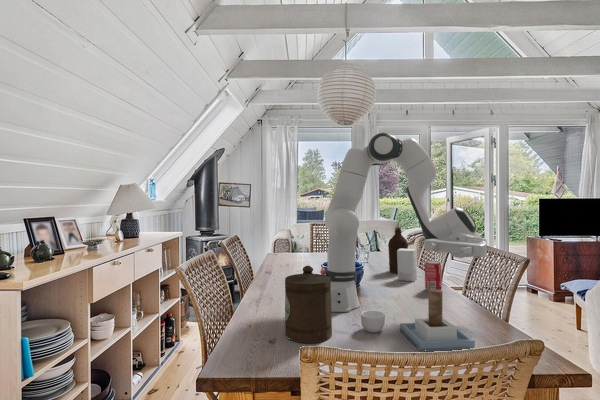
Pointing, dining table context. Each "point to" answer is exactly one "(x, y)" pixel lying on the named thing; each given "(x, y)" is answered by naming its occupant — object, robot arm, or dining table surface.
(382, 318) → the teacup
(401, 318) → the dining table surface
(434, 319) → the peg
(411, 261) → the skincare box
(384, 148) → the robot arm
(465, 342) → the tray
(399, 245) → the olive oil
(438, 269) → the soda can
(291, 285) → the wooden container
